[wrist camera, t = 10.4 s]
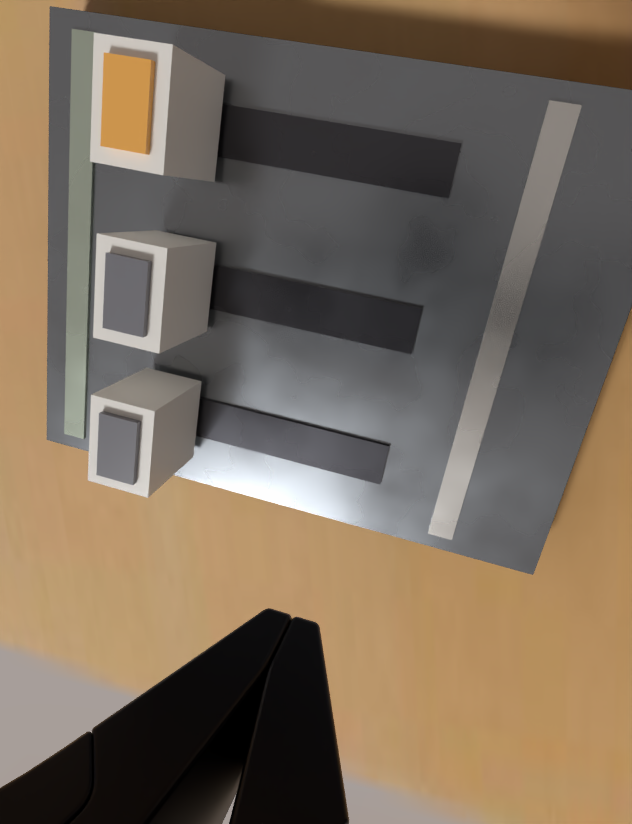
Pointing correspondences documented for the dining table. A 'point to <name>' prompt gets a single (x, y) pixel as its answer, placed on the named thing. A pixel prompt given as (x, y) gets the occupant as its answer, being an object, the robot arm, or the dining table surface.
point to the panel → (365, 280)
